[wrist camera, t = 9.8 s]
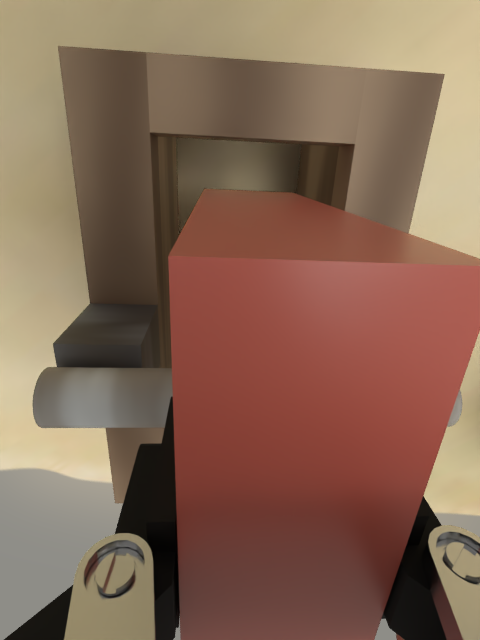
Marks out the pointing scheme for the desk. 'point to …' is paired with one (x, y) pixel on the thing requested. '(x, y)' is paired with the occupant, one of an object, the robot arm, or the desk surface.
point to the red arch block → (305, 409)
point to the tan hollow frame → (162, 202)
